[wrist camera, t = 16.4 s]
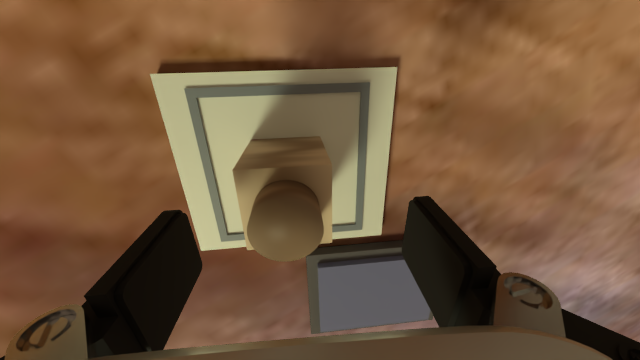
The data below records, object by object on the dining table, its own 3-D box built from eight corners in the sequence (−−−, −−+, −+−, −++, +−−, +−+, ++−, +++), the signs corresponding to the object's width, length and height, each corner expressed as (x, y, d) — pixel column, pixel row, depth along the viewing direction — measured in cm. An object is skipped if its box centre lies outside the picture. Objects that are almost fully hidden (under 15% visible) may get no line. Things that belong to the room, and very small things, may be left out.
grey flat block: (445, 236, 24) (455, 246, 23) (428, 311, 29) (435, 324, 27) (305, 248, 23) (306, 260, 22) (310, 325, 27) (311, 339, 26)
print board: (392, 67, 17) (398, 66, 16) (378, 229, 23) (381, 236, 22) (156, 73, 16) (148, 73, 15) (204, 244, 22) (200, 252, 21)
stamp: (320, 136, 18) (338, 180, 11) (321, 196, 20) (337, 267, 13) (251, 139, 17) (221, 188, 10) (259, 200, 19) (240, 276, 12)
